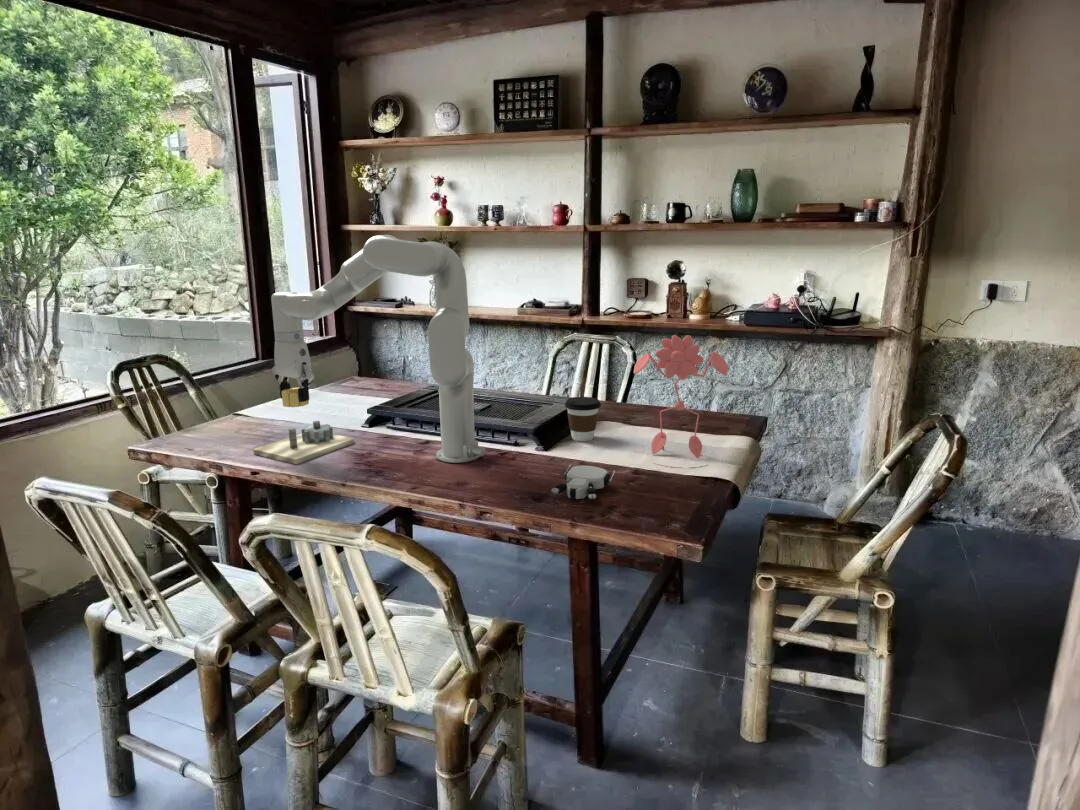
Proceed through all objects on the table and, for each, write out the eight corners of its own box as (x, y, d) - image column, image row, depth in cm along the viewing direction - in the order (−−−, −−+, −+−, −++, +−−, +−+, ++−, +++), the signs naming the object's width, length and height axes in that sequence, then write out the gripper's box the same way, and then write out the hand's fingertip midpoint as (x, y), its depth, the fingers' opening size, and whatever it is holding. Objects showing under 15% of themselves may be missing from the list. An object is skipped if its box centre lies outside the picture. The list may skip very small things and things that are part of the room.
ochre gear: (313, 402, 199) (312, 389, 198) (294, 408, 193) (293, 394, 192) (297, 400, 202) (296, 386, 201) (278, 405, 197) (276, 391, 195)
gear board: (354, 443, 211) (352, 420, 209) (296, 464, 193) (293, 440, 191) (313, 434, 220) (311, 413, 218) (253, 454, 202) (251, 431, 200)
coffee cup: (580, 446, 206) (580, 407, 203) (557, 437, 214) (557, 399, 211) (607, 439, 212) (608, 401, 209) (584, 431, 221) (585, 394, 218)
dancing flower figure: (635, 445, 206) (638, 328, 196) (724, 455, 197) (732, 333, 187) (621, 463, 192) (624, 338, 182) (717, 474, 183) (724, 343, 173)
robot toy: (596, 509, 163) (616, 483, 176) (596, 492, 162) (616, 467, 175) (548, 502, 168) (571, 477, 181) (547, 485, 167) (570, 461, 179)
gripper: (322, 337, 192) (326, 400, 196) (279, 332, 200) (284, 392, 205) (300, 341, 185) (306, 406, 190) (257, 336, 194) (263, 398, 198)
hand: (295, 398), depth 197 cm, fingers closed on ochre gear, 6 cm apart
